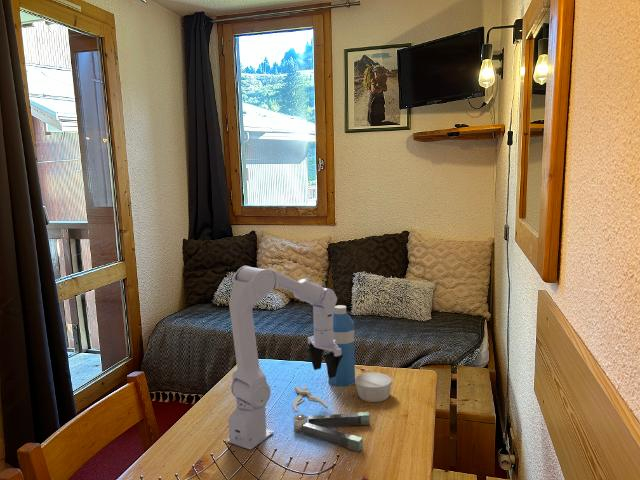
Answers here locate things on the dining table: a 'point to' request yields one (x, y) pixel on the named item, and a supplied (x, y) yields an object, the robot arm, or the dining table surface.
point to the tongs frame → (327, 434)
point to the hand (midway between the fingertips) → (324, 372)
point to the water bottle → (344, 347)
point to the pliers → (305, 392)
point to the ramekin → (373, 386)
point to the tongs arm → (340, 419)
